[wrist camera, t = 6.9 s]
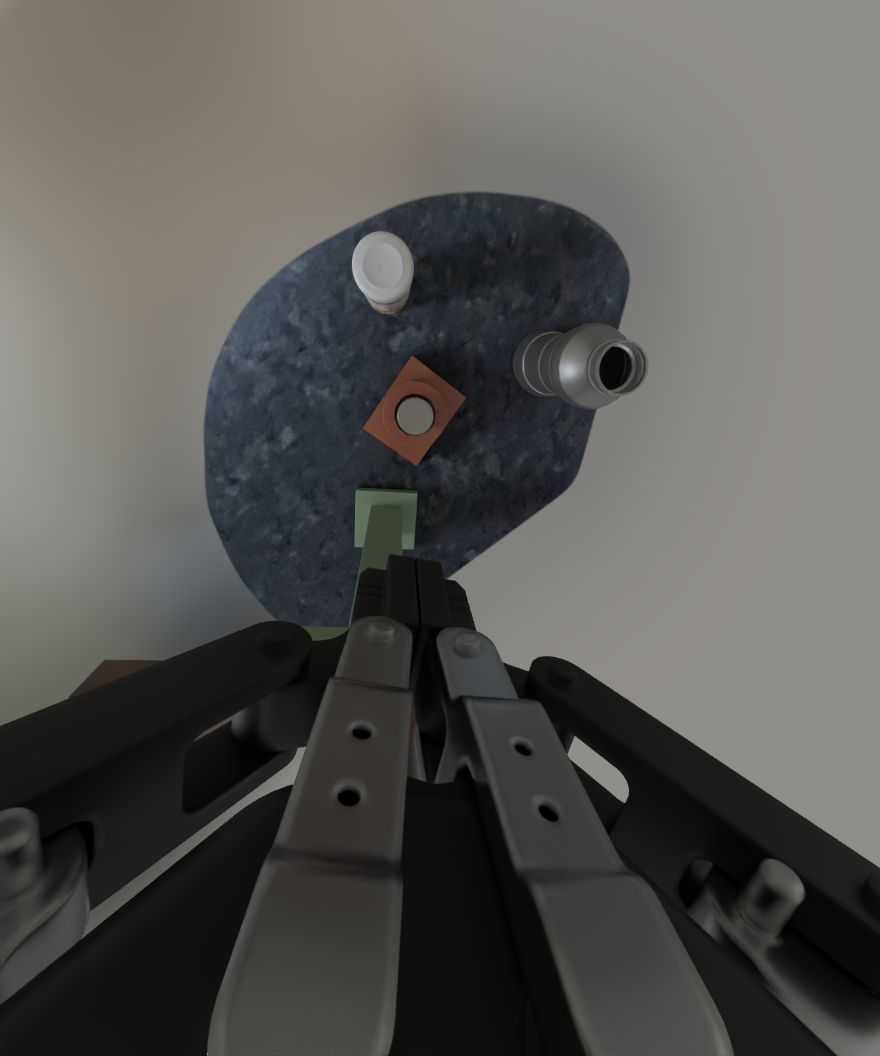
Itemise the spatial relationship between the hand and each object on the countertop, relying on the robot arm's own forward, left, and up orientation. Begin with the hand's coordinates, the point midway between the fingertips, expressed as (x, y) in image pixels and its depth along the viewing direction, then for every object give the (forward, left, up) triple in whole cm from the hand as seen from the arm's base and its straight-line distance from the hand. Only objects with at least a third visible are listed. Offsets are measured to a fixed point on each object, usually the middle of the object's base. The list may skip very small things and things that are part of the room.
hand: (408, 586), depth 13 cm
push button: (+1, -1, -36) cm, 36 cm away
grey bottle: (+13, -9, -40) cm, 43 cm away
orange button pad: (+1, -1, -40) cm, 40 cm away
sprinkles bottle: (+9, +8, -40) cm, 42 cm away
